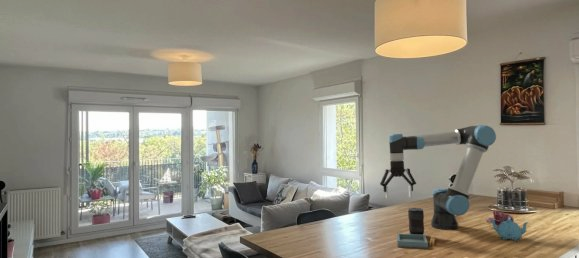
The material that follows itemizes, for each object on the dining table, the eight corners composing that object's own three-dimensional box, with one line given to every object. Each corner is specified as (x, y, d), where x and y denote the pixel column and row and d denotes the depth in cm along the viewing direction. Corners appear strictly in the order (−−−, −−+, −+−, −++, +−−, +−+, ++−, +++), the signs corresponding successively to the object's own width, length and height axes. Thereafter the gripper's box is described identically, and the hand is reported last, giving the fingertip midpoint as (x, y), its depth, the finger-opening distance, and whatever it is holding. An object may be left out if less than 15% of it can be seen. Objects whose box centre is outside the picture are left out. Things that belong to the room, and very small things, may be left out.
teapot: (530, 241, 182) (529, 221, 183) (508, 243, 180) (508, 223, 180) (510, 234, 195) (509, 216, 195) (489, 236, 192) (488, 218, 192)
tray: (425, 240, 188) (424, 234, 188) (428, 248, 174) (427, 242, 174) (396, 238, 192) (396, 233, 192) (397, 246, 178) (397, 240, 178)
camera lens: (406, 234, 200) (405, 208, 200) (420, 233, 201) (419, 207, 201) (412, 238, 192) (411, 210, 192) (427, 237, 193) (426, 210, 193)
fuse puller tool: (431, 239, 189) (430, 237, 189) (435, 240, 188) (435, 237, 188) (429, 245, 179) (429, 242, 179) (433, 245, 178) (433, 242, 178)
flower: (481, 223, 209) (486, 208, 208) (488, 222, 220) (493, 207, 219) (509, 235, 199) (515, 218, 198) (514, 233, 209) (520, 217, 209)
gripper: (415, 159, 207) (417, 195, 207) (373, 160, 207) (375, 197, 206) (420, 160, 200) (422, 197, 199) (377, 161, 199) (378, 199, 199)
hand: (398, 197), depth 203 cm, fingers open, 13 cm apart
